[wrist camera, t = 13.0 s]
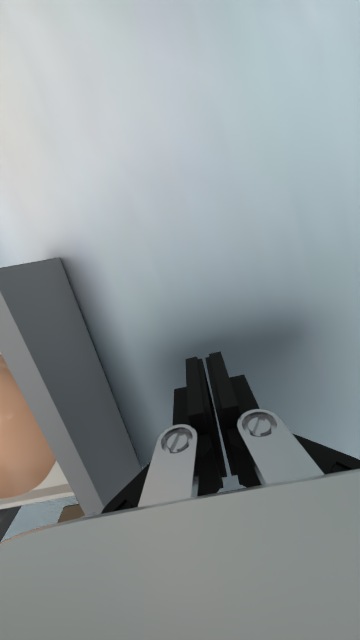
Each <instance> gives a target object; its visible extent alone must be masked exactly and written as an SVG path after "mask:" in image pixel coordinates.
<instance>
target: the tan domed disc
mask: <svg viewBox="0 0 360 640" xmlns="http://www.w3.org/2000/svg"><path fill="white" fill-rule="evenodd" d="M55 462H56V458H55V456H54V454H53V452H52V451H51V449H50V447H49V445H48V443H47V441H46V439H45V437H44V435H43V433H42V431H41V429H40V428H39V426H38V424H37V422H36V420H35V418H34V416H33V414H32V412H31V410H30V408H29V406H28V404H27V403H26V401H25V399H24V397H23V395H22V393H21V391H20V389H19V387H18V385H17V383H16V381H15V380H14V378H13V376H12V374H11V372H10V370H9V368H8V366H7V364H6V362H5V360H4V358H3V356H2V355H1V354H0V499H5V498H11V497H15V496H19V495H22V494H24V493H27V492H29V491H31V490H32V489H34V488H36V487H37V486H38V485H40V484H41V483H42V482H43V481H44V480H45V478H46V477H47V476H48V474H49V473H50V471H51V469H52V467H53V465H54V464H55Z"/></svg>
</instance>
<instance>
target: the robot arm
mask: <svg viewBox="0 0 360 640" xmlns="http://www.w3.org/2000/svg"><path fill="white" fill-rule="evenodd" d="M209 356H210V357H207V358H205V359H206V364H207V369H208V374H209V379H210V384H211V389H212V394H213V399H214V404H215V409H216V413H217V417H218V421H219V426H220V430H221V434H222V438H223V442H224V446H225V450H226V454H227V459H228V463H229V467H230V471H231V475H232V476H233V475H238V479H239V483H240V485H243V486H245V487H247V488H243V489H237V490H231V491H225V492H220V493H217V492H218V490H219V489H220V488H223V482H222V477H227V473H226V468H225V463H224V457H223V452H222V447H221V442H220V437H219V431H218V426H217V421H216V416H215V411H214V406H213V402H212V398H211V394H210V390H209V386H208V382H207V378H206V373H205V369H204V365H203V361H202V359H197V357H193V358H189V359H186V383H187V387H183V388H178V389H175V390H174V407H173V426H172V427H169V428H168V429H166V430H165V431H163V432H162V434H161V435H160V436H159V438H158V440H157V443H156V446H155V450H154V453H153V457H152V460H151V462H150V463H149V464H148V465H147V466H146V467H145V468H144V469H143V470H142V471H141V472H140V473H139V474H138V475H137V476H136V477H135V478H134V479H133V480H132V481H130V482H129V483H128V484H127V485H126V486H125V487H124V488H123V489H122V490H121V491H120V492H119V493H118V494H117V495H116V496H115V497H114V498H113V499H112V500H111V501H110V502H109V503H108V504H107V505H106V506H105V508H104V509H103V510H102V512H101V514H98V515H97V514H96V512H93V513H90V514H88V515H86V516H83V517H81V518H78V519H73V520H69V521H64V522H60V523H56V524H51V525H47V526H43V527H40V528H36V529H33V530H30V531H27V532H24V533H21V534H19V535H17V536H14V537H12V538H9V539H7V540H5V541H3V542H1V543H0V640H360V460H358V459H356V458H354V457H351V456H349V455H346V454H344V453H341V452H339V451H336V450H333V449H331V448H328V447H326V446H323V445H321V444H318V443H315V442H313V441H310V440H308V439H305V438H303V437H300V436H298V435H295V434H292V433H291V432H290V430H289V429H288V428H287V427H286V425H285V424H284V423H283V422H282V420H281V419H280V418H279V417H278V416H277V415H276V414H275V413H273V412H271V411H269V410H265V409H259V407H258V404H257V402H256V400H255V398H254V396H253V393H252V391H251V389H250V387H249V385H248V382H247V380H246V378H245V376H244V375H240V376H235V377H230V378H229V376H228V373H227V370H226V367H225V364H224V361H223V358H222V355H221V352H216V353H211V354H209Z"/></svg>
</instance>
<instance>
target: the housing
mask: <svg viewBox="0 0 360 640" xmlns="http://www.w3.org/2000/svg"><path fill="white" fill-rule="evenodd" d="M21 506H22V505H21ZM21 506H16V507H10V508H5V509H0V542H1V540H2V538H3V536H4V535H5V533H6V531H7V530H8V528H9V526H10V525H11V523H12V521H13V519H14V518H15V516H16V514H17V513H18V511H19V509H20V508H21Z"/></svg>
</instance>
